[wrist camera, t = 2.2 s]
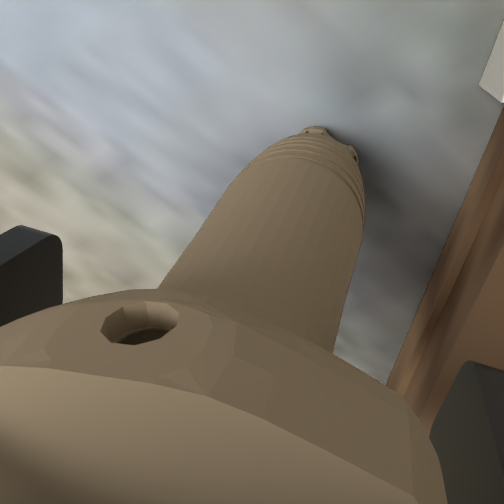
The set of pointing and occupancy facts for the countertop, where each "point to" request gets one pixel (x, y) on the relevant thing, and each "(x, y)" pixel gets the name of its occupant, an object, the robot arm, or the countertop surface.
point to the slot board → (460, 296)
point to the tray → (495, 69)
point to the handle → (219, 366)
